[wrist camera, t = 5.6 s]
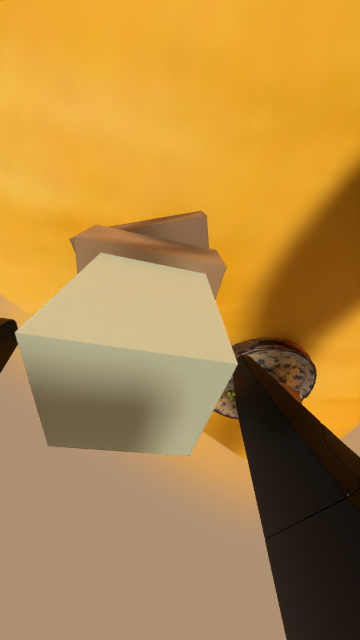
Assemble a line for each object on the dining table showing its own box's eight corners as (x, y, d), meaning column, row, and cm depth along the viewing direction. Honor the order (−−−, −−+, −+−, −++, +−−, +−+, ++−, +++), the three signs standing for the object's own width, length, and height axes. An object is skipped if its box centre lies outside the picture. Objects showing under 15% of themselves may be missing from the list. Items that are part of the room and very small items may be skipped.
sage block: (205, 274, 10) (237, 364, 5) (183, 348, 13) (189, 456, 8) (100, 252, 9) (14, 332, 4) (100, 336, 12) (48, 446, 7)
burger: (180, 382, 23) (183, 454, 17) (264, 314, 18) (310, 381, 12) (248, 417, 28) (269, 485, 21) (329, 370, 23) (388, 440, 16)
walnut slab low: (200, 209, 14) (206, 215, 11) (209, 309, 18) (214, 329, 16) (87, 229, 14) (69, 239, 12) (122, 322, 19) (114, 343, 16)
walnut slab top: (215, 249, 12) (226, 266, 10) (189, 338, 16) (192, 366, 14) (96, 224, 11) (74, 236, 9) (98, 325, 15) (83, 352, 13)
